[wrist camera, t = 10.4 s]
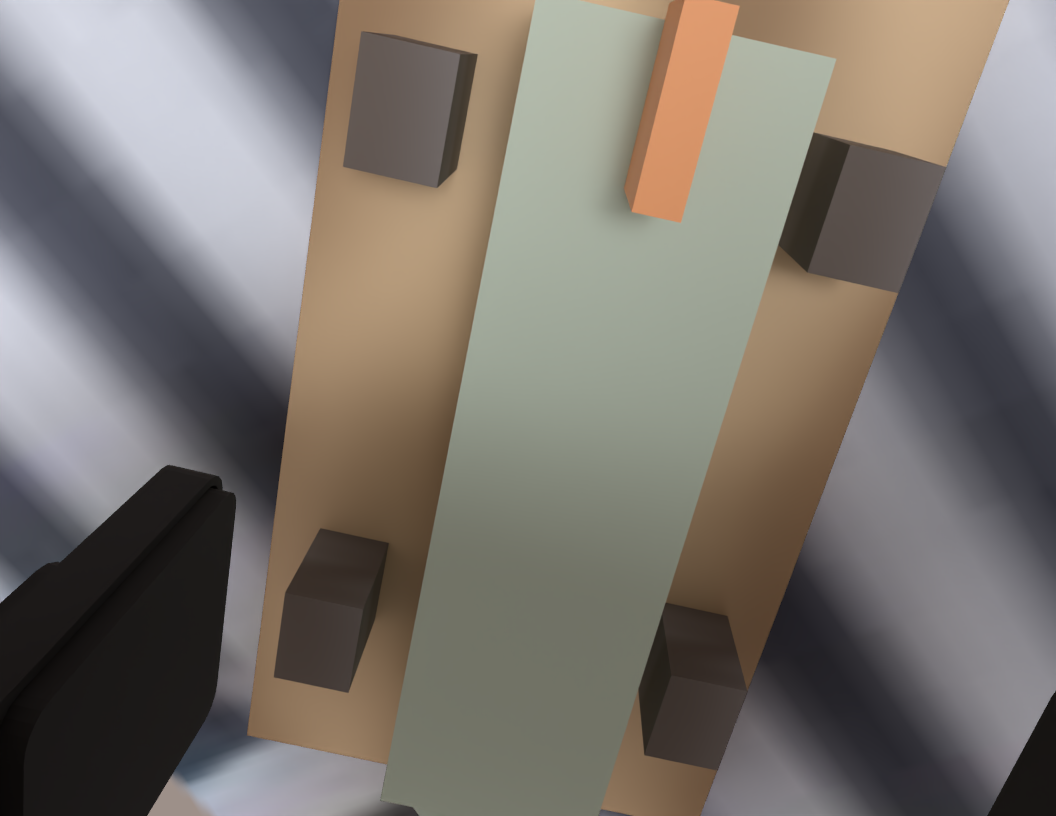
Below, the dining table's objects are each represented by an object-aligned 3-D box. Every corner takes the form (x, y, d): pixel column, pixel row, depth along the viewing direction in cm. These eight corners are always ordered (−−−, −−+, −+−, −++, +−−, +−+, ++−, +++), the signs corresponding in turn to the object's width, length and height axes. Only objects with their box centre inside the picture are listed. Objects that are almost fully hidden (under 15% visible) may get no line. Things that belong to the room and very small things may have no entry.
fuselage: (778, 45, 15) (891, 40, 10) (568, 767, 21) (565, 1018, 16) (549, -7, 15) (532, -42, 10) (402, 733, 21) (340, 974, 16)
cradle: (1014, -79, 15) (1131, -115, 12) (690, 796, 23) (708, 920, 20) (384, -231, 15) (330, -309, 12) (260, 707, 22) (206, 817, 19)
